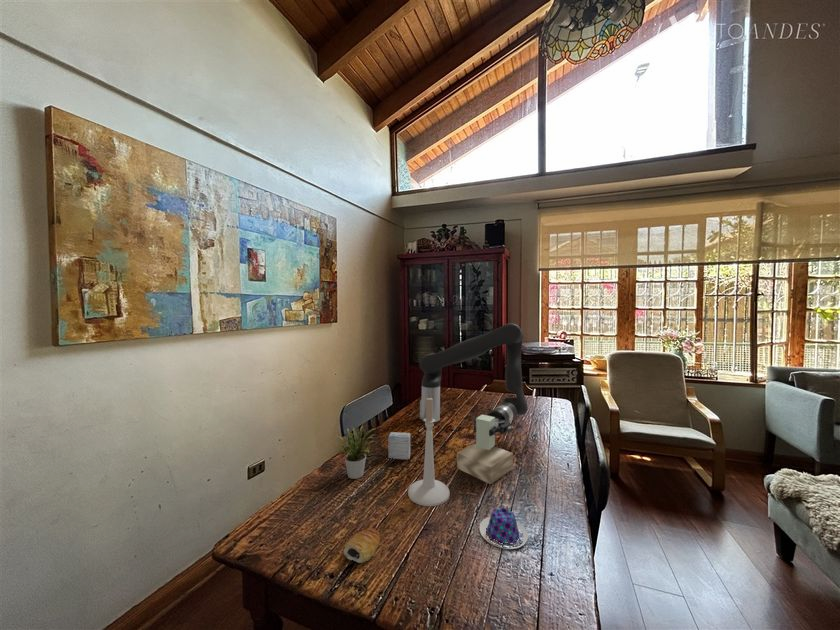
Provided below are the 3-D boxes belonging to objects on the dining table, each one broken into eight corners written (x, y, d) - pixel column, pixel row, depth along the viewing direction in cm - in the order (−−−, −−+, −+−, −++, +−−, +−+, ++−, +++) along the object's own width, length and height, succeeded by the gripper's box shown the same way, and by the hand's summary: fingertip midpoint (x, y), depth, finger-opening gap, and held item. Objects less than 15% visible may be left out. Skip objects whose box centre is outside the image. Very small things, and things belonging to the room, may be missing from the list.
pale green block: (476, 446, 113) (476, 418, 113) (481, 441, 117) (482, 414, 117) (489, 450, 110) (489, 421, 110) (494, 444, 114) (495, 417, 114)
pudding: (536, 549, 77) (537, 528, 77) (488, 554, 75) (489, 532, 75) (515, 516, 89) (515, 497, 89) (473, 520, 87) (473, 501, 87)
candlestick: (419, 511, 90) (420, 406, 89) (401, 487, 102) (401, 394, 100) (457, 498, 96) (458, 400, 95) (436, 478, 107) (436, 389, 106)
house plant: (388, 470, 112) (388, 424, 112) (365, 490, 100) (365, 439, 99) (354, 461, 118) (354, 417, 118) (329, 479, 106) (329, 431, 105)
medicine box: (410, 454, 124) (410, 432, 124) (409, 460, 120) (409, 437, 119) (390, 453, 125) (390, 431, 124) (388, 459, 120) (388, 436, 120)
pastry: (365, 532, 82) (365, 517, 82) (387, 540, 79) (387, 525, 79) (341, 557, 74) (341, 541, 74) (365, 569, 71) (365, 552, 71)
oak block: (456, 469, 114) (457, 452, 114) (479, 456, 124) (480, 440, 124) (490, 485, 104) (490, 467, 104) (512, 469, 114) (512, 453, 114)
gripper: (483, 404, 129) (464, 416, 115) (518, 411, 121) (502, 425, 107) (483, 422, 129) (463, 437, 115) (518, 430, 121) (502, 447, 107)
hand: (482, 431), depth 111 cm, fingers closed on pale green block, 5 cm apart
